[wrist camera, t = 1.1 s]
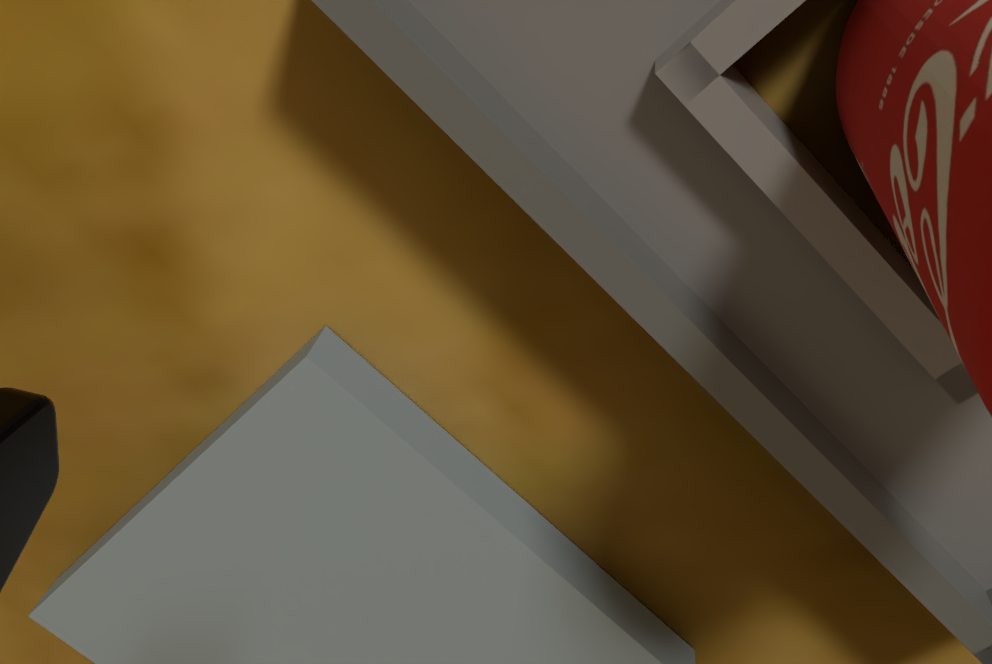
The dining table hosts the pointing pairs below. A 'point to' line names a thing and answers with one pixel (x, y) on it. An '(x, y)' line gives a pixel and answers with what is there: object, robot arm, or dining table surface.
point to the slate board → (342, 548)
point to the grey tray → (722, 251)
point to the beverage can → (929, 150)
